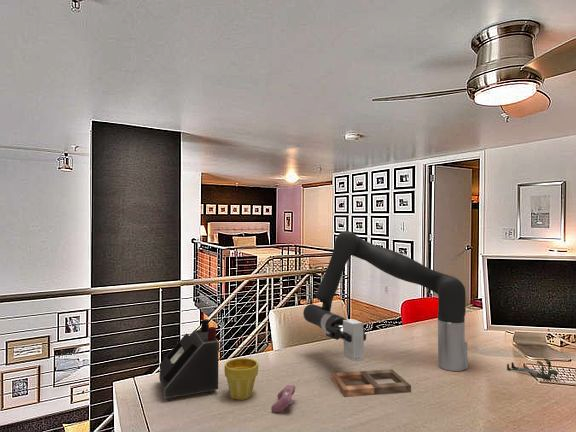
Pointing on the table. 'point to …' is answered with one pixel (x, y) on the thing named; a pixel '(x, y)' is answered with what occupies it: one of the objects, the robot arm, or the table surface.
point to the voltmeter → (191, 364)
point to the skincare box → (354, 340)
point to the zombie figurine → (534, 372)
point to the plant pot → (241, 377)
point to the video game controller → (284, 398)
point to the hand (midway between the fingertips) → (357, 338)
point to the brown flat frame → (370, 382)
